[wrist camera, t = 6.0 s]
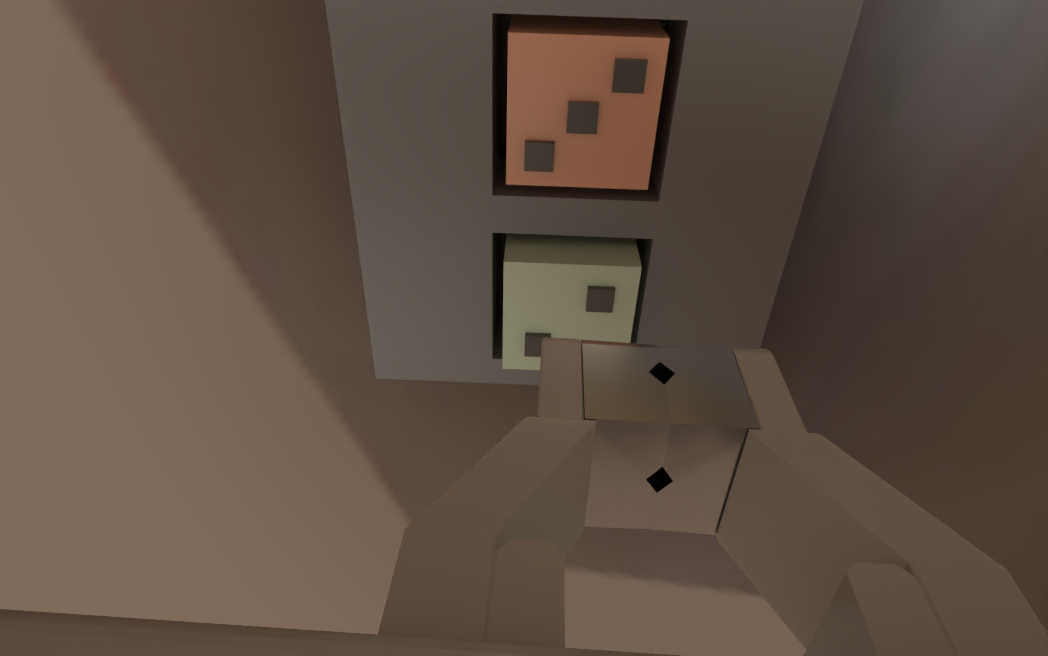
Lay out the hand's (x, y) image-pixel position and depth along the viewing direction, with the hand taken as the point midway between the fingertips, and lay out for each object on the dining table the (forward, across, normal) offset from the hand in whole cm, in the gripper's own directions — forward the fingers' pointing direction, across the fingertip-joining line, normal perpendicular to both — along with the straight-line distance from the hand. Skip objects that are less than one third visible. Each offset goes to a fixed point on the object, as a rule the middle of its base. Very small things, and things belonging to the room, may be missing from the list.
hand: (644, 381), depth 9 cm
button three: (+13, -1, 0) cm, 13 cm away
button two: (+12, -1, -6) cm, 13 cm away
